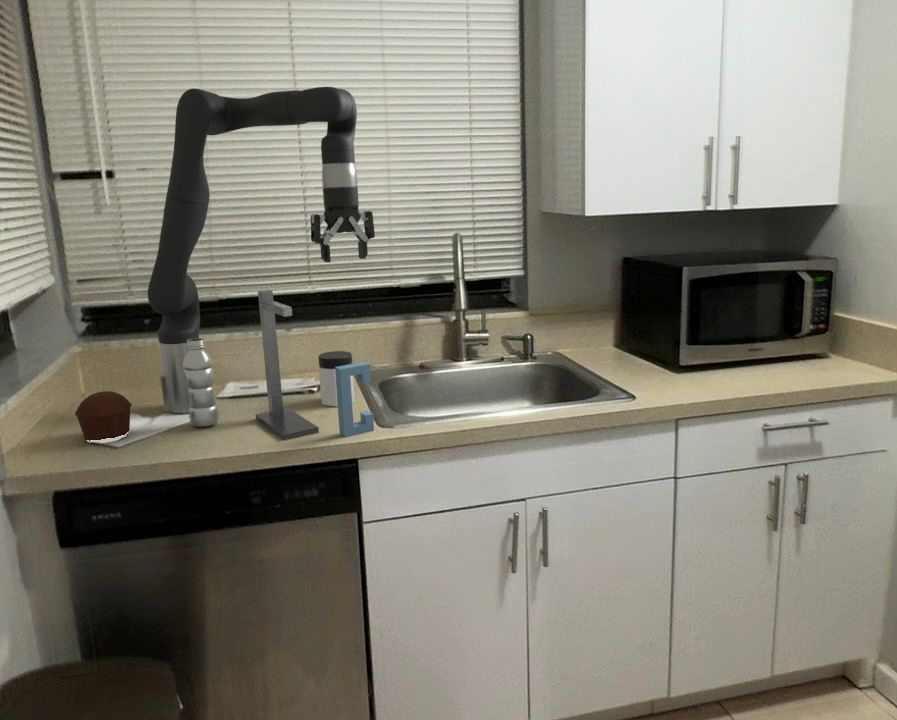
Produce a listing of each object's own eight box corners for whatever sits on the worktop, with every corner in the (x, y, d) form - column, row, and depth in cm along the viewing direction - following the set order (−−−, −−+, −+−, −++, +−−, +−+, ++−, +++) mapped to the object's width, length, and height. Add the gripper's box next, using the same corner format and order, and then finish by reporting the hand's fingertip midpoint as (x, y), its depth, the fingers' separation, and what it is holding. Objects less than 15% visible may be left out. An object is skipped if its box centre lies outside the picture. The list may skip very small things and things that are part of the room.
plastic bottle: (204, 431, 168) (193, 344, 164) (184, 427, 172) (173, 341, 167) (226, 423, 174) (217, 338, 169) (206, 419, 177) (196, 335, 172)
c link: (344, 437, 162) (340, 369, 158) (339, 434, 164) (334, 367, 160) (374, 430, 165) (370, 364, 162) (368, 427, 168) (364, 361, 164)
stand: (284, 440, 161) (271, 301, 154) (255, 419, 176) (243, 291, 169) (318, 432, 165) (308, 296, 158) (288, 412, 180) (277, 287, 173)
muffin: (114, 447, 160) (107, 402, 158) (67, 445, 162) (60, 401, 160) (145, 429, 172) (140, 386, 169) (102, 427, 174) (95, 385, 171)
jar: (328, 409, 182) (325, 360, 179) (315, 401, 188) (311, 354, 186) (362, 402, 186) (359, 354, 184) (347, 394, 193) (344, 349, 190)
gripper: (361, 184, 170) (366, 256, 174) (302, 186, 163) (308, 262, 167) (377, 184, 164) (381, 258, 168) (316, 186, 157) (322, 264, 161)
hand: (345, 260), depth 167 cm, fingers open, 8 cm apart
